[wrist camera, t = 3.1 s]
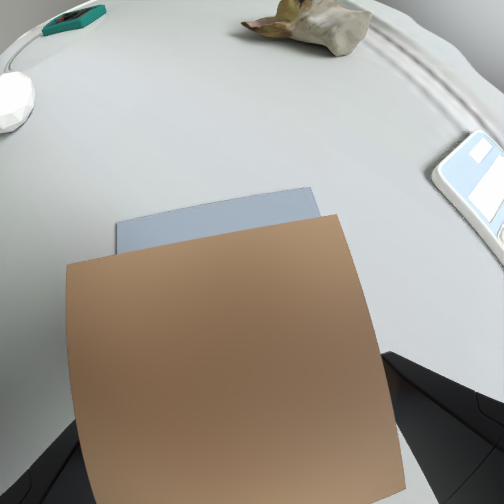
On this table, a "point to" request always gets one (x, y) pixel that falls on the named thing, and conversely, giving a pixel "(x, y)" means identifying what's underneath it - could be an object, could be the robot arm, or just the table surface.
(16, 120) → the geometric ball
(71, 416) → the table surface
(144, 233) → the desk pad
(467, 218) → the calculator
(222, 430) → the walnut block
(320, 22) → the ceramic sculpture
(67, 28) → the digital multimeter
